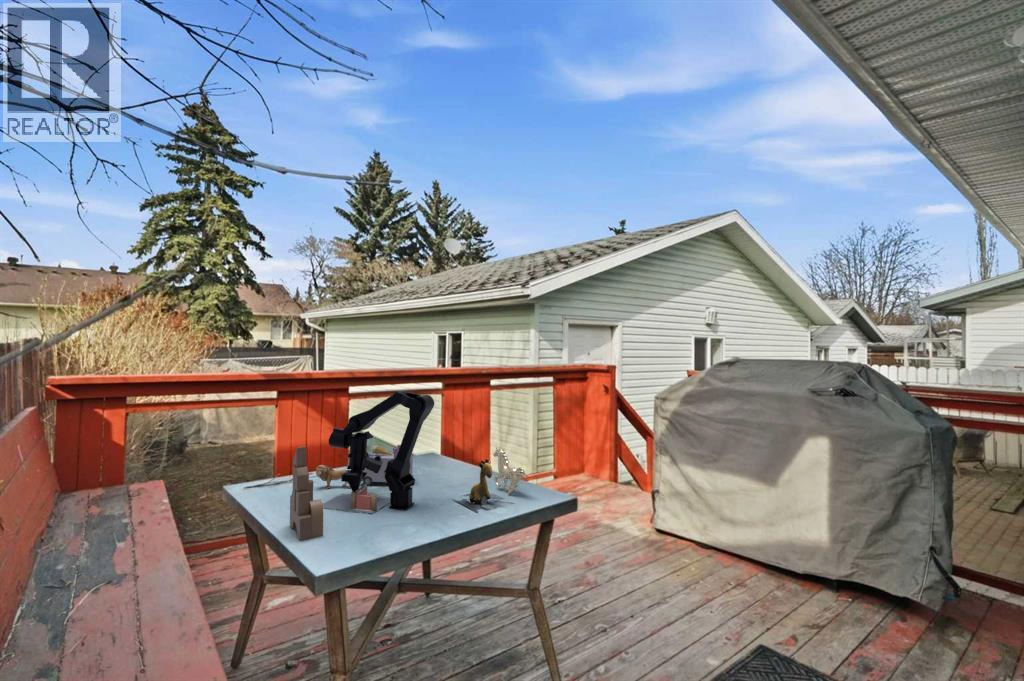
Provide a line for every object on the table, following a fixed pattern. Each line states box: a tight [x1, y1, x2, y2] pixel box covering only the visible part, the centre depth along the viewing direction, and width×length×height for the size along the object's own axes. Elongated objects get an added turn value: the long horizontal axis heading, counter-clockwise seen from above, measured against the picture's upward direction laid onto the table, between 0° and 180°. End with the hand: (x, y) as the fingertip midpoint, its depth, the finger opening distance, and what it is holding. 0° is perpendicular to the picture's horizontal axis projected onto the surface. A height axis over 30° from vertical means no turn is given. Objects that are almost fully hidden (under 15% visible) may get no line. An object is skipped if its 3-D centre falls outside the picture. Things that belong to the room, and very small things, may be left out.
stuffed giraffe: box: [453, 458, 516, 514], centre depth 175 cm, size 16×18×16 cm
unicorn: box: [493, 444, 527, 496], centre depth 184 cm, size 20×4×17 cm, turn 37°
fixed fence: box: [350, 491, 378, 511], centre depth 163 cm, size 9×2×6 cm, turn 75°
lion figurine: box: [315, 464, 351, 490], centre depth 188 cm, size 15×5×9 cm, turn 107°
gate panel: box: [356, 483, 368, 495], centre depth 171 cm, size 10×1×4 cm, turn 177°
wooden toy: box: [289, 445, 324, 541], centre depth 146 cm, size 16×7×25 cm, turn 35°
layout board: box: [322, 493, 390, 515], centre depth 170 cm, size 21×15×1 cm
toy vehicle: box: [361, 444, 414, 486], centre depth 193 cm, size 9×20×15 cm, turn 88°
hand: (355, 494), depth 172 cm, fingers closed
